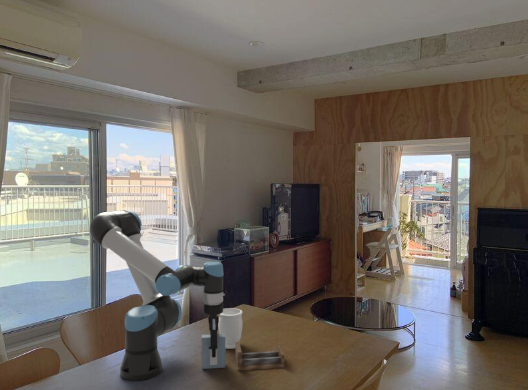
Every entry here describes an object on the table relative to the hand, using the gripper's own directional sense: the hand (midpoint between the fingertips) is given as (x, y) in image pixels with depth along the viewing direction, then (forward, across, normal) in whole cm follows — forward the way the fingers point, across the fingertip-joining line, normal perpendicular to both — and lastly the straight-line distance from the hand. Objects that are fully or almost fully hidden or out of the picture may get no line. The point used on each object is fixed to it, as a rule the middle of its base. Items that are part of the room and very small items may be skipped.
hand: (213, 362), depth 153 cm
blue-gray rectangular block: (+2, 0, 0) cm, 2 cm away
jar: (+2, +19, -8) cm, 21 cm away
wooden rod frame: (+2, 0, -18) cm, 18 cm away
